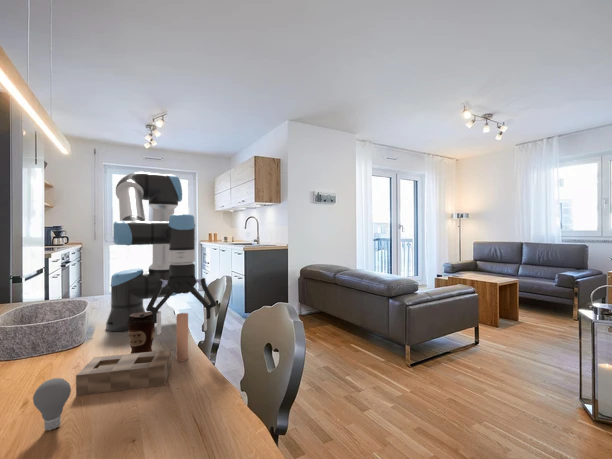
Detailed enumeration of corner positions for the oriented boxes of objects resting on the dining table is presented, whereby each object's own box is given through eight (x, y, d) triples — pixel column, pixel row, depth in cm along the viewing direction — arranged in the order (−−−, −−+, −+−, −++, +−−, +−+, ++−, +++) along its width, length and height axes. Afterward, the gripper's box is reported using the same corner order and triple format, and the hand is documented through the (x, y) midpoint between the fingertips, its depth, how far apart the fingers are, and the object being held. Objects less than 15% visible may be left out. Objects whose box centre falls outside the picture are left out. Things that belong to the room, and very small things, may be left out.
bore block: (94, 375, 86) (94, 357, 86) (171, 366, 92) (171, 349, 91) (76, 395, 76) (76, 375, 76) (164, 384, 81) (164, 365, 81)
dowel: (177, 357, 98) (177, 313, 98) (188, 356, 99) (188, 312, 99) (175, 361, 95) (175, 316, 95) (187, 360, 96) (187, 315, 96)
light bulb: (48, 419, 66) (47, 373, 66) (77, 418, 67) (77, 372, 67) (25, 438, 60) (24, 387, 60) (57, 437, 61) (57, 386, 61)
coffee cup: (143, 360, 96) (142, 318, 96) (120, 357, 98) (120, 316, 98) (161, 349, 105) (161, 311, 105) (140, 347, 106) (140, 309, 106)
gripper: (134, 266, 90) (135, 339, 90) (223, 263, 96) (223, 331, 96) (141, 263, 97) (141, 331, 97) (223, 261, 104) (223, 324, 104)
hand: (182, 331), depth 97 cm, fingers open, 13 cm apart
